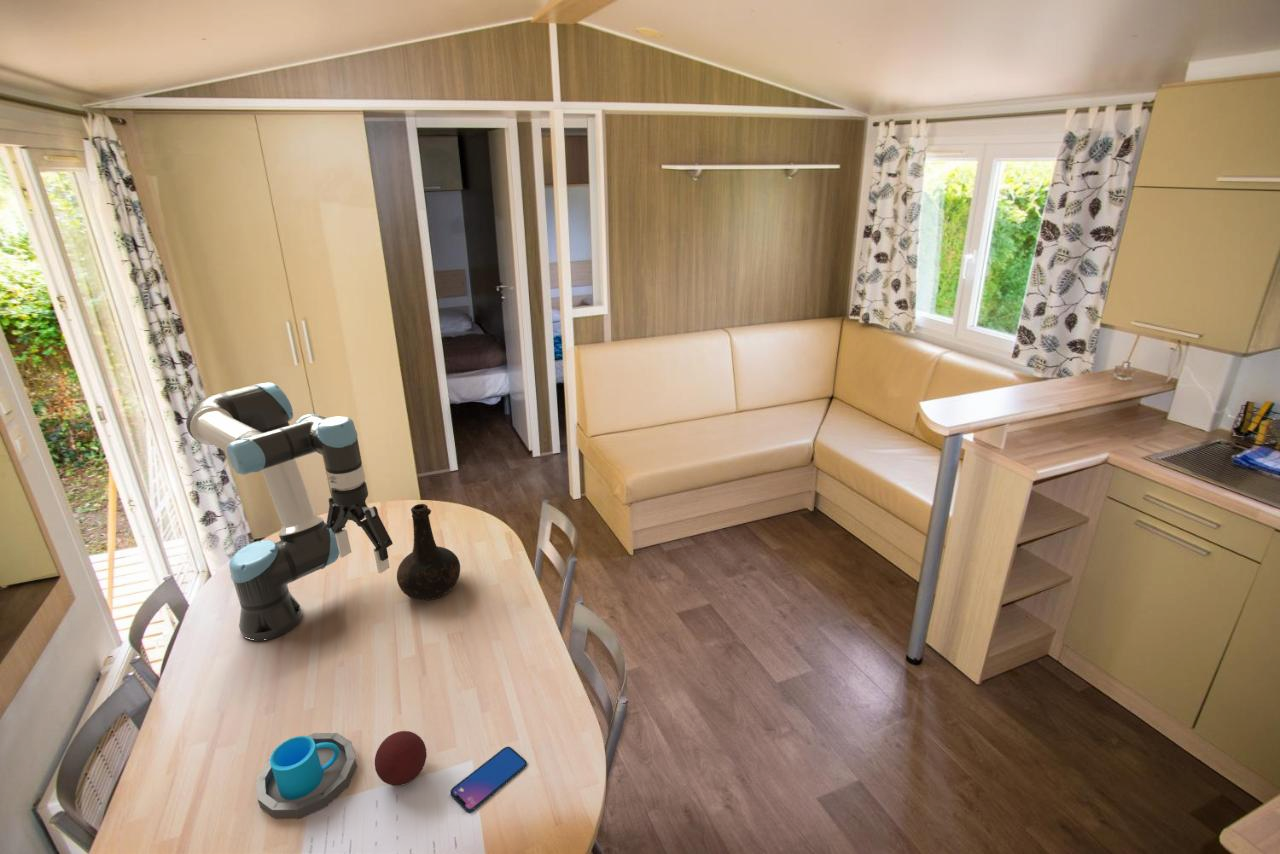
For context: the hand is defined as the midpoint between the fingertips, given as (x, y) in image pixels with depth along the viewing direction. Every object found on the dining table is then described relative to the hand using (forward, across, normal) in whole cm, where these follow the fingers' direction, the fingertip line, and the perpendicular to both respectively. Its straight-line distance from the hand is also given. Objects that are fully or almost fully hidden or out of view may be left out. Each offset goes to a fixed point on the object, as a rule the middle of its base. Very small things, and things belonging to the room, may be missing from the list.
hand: (364, 562), depth 155 cm
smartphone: (+29, +48, -14) cm, 58 cm away
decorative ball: (+29, +32, -22) cm, 48 cm away
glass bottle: (+29, -10, +26) cm, 40 cm away
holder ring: (+29, +15, -32) cm, 46 cm away
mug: (+28, +16, -32) cm, 46 cm away
